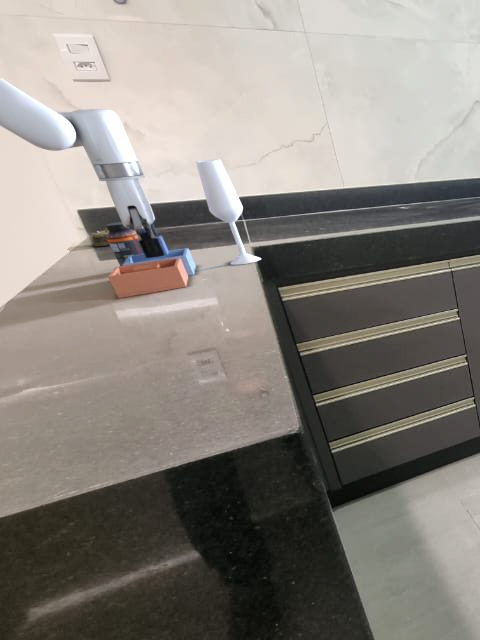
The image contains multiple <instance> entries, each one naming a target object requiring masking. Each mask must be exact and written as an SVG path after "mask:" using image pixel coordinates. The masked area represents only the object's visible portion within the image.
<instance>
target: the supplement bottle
mask: <svg viewBox="0 0 480 640" xmlns="http://www.w3.org/2000/svg"><path fill="white" fill-rule="evenodd" d="M106 227H107V229H108V230H109V233H108V235H107V236H106V238H107V240H108V242H109V244H110V245H109V246H110V248H111V250H112V252H113V254H114V257H115V258H116V260H117V262H118V265H119V266H123V263H124V262H125V261H126V259H127V258H128V256H134V255H142V254H143V252H142V250H141V248H140V245H139V243H138V240H139V239H138V236H137V234H136V232H135V229H131V226H130V227H129V228H126V227H124V226H123V224H122V222H121V221H118V222H111V223H108V224H106V225H105V228H106Z"/></svg>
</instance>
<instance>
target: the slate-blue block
mask: <svg viewBox="0 0 480 640" xmlns="http://www.w3.org/2000/svg"><path fill="white" fill-rule="evenodd" d="M155 238H157V239H158V241H159V243H160V245H161V248H162V250H163V252H164V256H166V255H168V253H169V251H170V250H169V249H168V246H167V244H166V242H165V240H164V238H163V236H162V235H159V236H155ZM139 241H140V240H138V243H139V245H140V248H141V250H142V252H143V254H144V256H145V258H147V257H146V255H145V253H144V251H143V249H142V247H141V244H140V242H139Z"/></svg>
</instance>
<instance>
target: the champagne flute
mask: <svg viewBox="0 0 480 640" xmlns="http://www.w3.org/2000/svg"><path fill="white" fill-rule="evenodd" d="M195 164H196V168H197V171H198V175H199V179H200V182H201V186H202V190H203V193H204V196H205V200H206V204H207V208H208V211H209V212H210V214H211V215H213V216H214V217H215V218H217V219H219V220H221V221H222V222H224V223H228V224H229V228H230V230H231V233H232V236H233V238H234V240H235V244H236V246H237V250H238V252H239V255H237V256H236V257H235V258H234V259H233V260H232V261H231V262H230V265H233V266H234V265H235V266H237V265H238V266H239V265H247V264H251V263H256V262H258V261H261V260H262V258H261V257H259V256H256V255H253V254H250V253H246V249H245V247H244V244H243V241H242V239H241V237H240V233H239V231H238V228H237V226H236V223H235V222H236V221H238V219H239V218H240V217H241V215H242V213H243V210H244V207H243V204H242V201H241V200H240V198H239V196H238V194H237V192H236V189H235V187H234V185H233V183H232V180H231V179H230V177H229V175H228V172H227V170H226V169H225V166H224V164H223V162H222V160H221V159H208V160H207V159H206V160H198V161H195Z"/></svg>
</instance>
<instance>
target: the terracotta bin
mask: <svg viewBox="0 0 480 640" xmlns="http://www.w3.org/2000/svg"><path fill="white" fill-rule="evenodd" d="M156 263H159V265H160V267H161V268H159V269H153V270H146V271H140V272H134V271H133V270H134V268H135V267H136V266H142V265H149V264H156ZM107 278H108V280H109V282H110V284H111V286H112V289H113V290H114V292H115V294H116V296H117V298H118V299H122V298H129V297H133V296H134V297H135V296H141V295H146V294H152V293H158V292H164V291H169V290H170V291H171V290H175V289H181V288H186V287H187V285H188V281H189V276H188V275H187V272H186V270H185V268H184V265H183V263H182V261H181V258H173V259H166V260H159V261H152V262H146V263H139V264H132V265H125V266H120V265H119V266H115V267H114V268H113V269H112V271H111V272H110V273H109V275H108V276H107Z"/></svg>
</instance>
